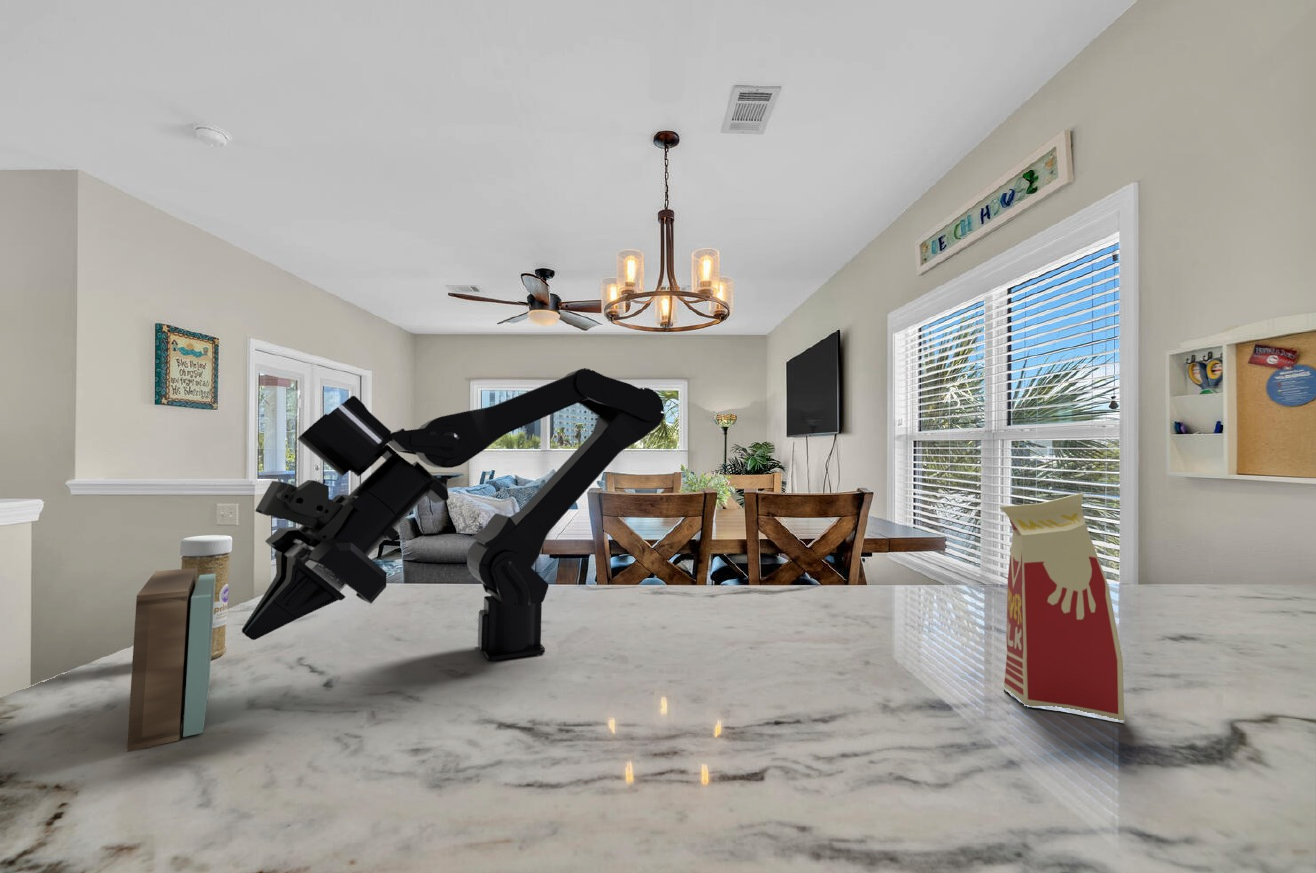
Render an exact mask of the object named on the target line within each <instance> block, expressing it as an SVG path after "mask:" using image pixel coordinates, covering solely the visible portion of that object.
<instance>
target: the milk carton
mask: <svg viewBox="0 0 1316 873" xmlns="http://www.w3.org/2000/svg"><path fill="white" fill-rule="evenodd" d="M1083 497H1084V492H1081V493H1076V494H1072V495H1068V496H1065V497H1060V498H1057V499H1052V500H1048V501H1044V502H1040V503H1030V504H1029V503H1028V504H1027V503H1026V504H1018V505H1017V504H1016V505H1005V506H998V508H999V509H1000V510H1001V511H1002V512H1004V514H1005V515H1006V517H1008V519H1009V522H1010V524H1011V528H1012V536H1011V546H1010V554H1009V564H1008V573H1007V584H1006V585H1007V586H1006V587H1007V588H1006V589H1007V590H1006V592H1007V593H1006V594H1007V595H1006V624H1005V625H1006V630H1005V634H1006V635H1005V638H1006V661H1005V673H1004V682H1003V688H1004V687H1005V688H1006V689H1008V690H1009V691H1011V693H1013V694H1014V695H1015V696H1016V697H1018V698H1019V699H1020V700H1021V701H1022V702H1023V703H1024V704H1025V705H1029V706H1053V707H1055V706H1057V707H1062V708H1070V709H1075V710H1080V711H1083V712H1087V713H1095V714H1098V715H1101V716H1107V717H1109V718H1114V719H1118V720H1124V721H1125V697H1124V695H1125V694H1124V692H1125V690H1124V689H1125V688H1124V660H1123V655H1122V654H1123V653H1122V650H1121V644H1120V639H1119V634H1118V628H1117V623H1116V617H1115V613H1114V607H1113V602H1112V596H1111V592H1110V586H1109V583H1108V581H1107V578H1106V576H1105V573H1104V570H1103V567H1102V564H1101V562H1100V560H1099V557H1098V554H1097V551H1096V549H1095V546H1094V544H1093V540H1092V538H1091V535H1090V532H1089V528H1088V526H1087V524H1086V520H1085V515H1084V511H1083V510H1084V508H1083V505H1082V504H1083V499H1084V498H1083Z"/></svg>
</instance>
